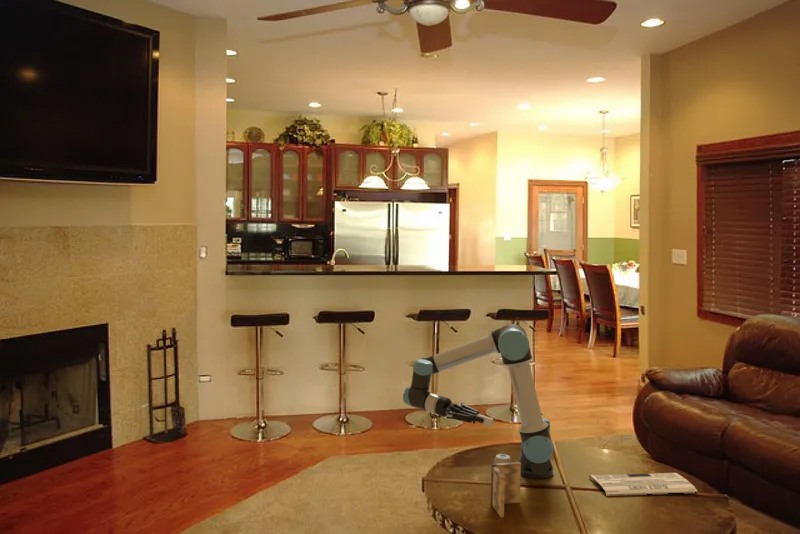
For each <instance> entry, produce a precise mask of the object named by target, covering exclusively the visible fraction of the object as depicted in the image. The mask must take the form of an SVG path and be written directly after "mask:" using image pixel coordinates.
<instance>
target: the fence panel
mask: <svg viewBox="0 0 800 534" xmlns="http://www.w3.org/2000/svg"><path fill="white" fill-rule="evenodd" d="M493 467H495V463H491V467H490V468H491V471H490V472H491V473H490V475H491V477H490V478H491V479H490V480H491V481H490V505H491V506H493ZM496 467H497V468H498V469H499V470H500V471H501V472H502V474H503V475H504V476H505V489H504V505H507V504H508V505H509V504H519V503H521V476H522V475H521V463H520V462H518V461H515V462H512V461H511V463H496Z"/></svg>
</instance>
